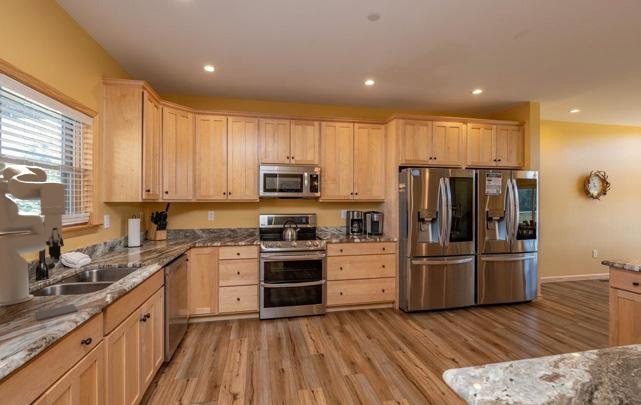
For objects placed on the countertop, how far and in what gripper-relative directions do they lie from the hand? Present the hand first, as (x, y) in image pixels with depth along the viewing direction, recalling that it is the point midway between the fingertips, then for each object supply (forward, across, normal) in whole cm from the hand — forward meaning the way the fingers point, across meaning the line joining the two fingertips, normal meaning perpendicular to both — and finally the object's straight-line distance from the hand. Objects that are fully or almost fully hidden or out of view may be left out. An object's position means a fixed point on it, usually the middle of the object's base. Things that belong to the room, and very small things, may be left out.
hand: (54, 254), depth 117 cm
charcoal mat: (+24, 0, 0) cm, 24 cm away
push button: (+3, 0, 0) cm, 3 cm away
